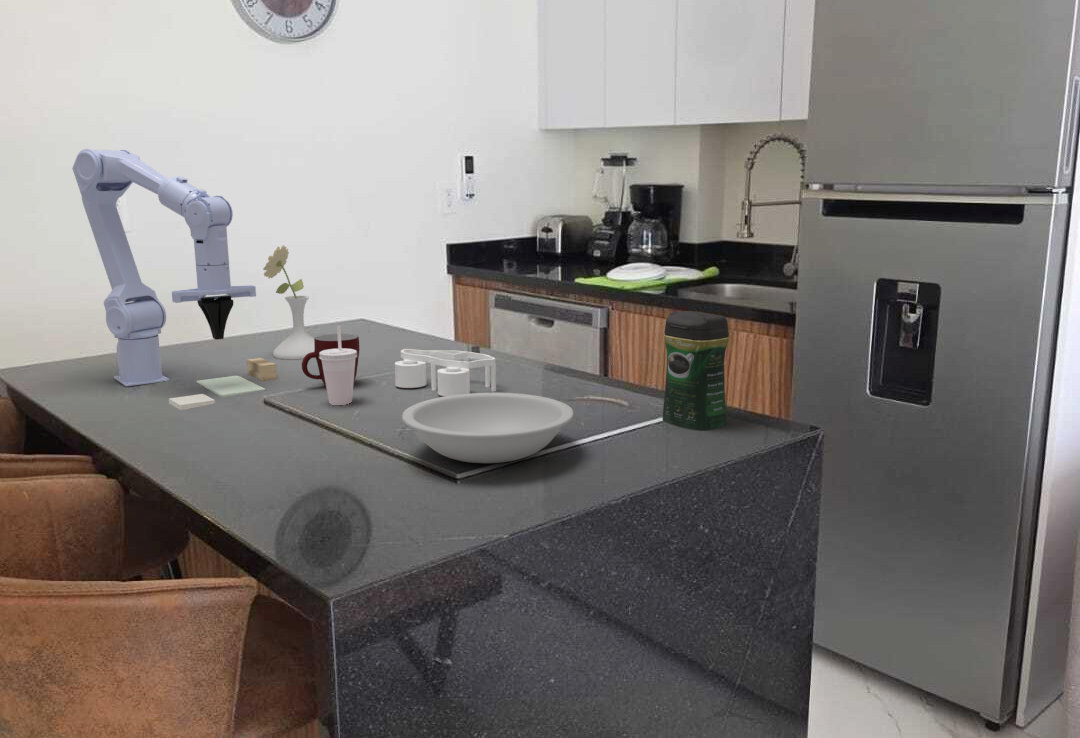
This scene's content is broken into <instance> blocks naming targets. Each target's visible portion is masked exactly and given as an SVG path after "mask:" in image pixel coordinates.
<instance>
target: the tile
mask: <svg viewBox="0 0 1080 738" xmlns="http://www.w3.org/2000/svg"><path fill="white" fill-rule="evenodd" d="M168 404H169V405H171V406H172V407H174V408H175V409H177V410H179V411H184V410H190V409H195V408H199V407H204V406H205V407H206V406H211V405H215V404H216V400H215V399H214V398H211V397H210V396H208V395H206V394H205V393H198V394H192V395H185V396H178V397H171V398H169V397H168Z"/></svg>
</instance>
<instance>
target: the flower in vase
mask: <svg viewBox="0 0 1080 738" xmlns="http://www.w3.org/2000/svg"><path fill="white" fill-rule="evenodd" d="M289 253H290V251H289V248H287V247H286V246H285V245H284V244H283V245H281V247H280V246H277V247H276V249H274V251H273V254H272V255H269V256H268V258H267V260H268V261H267V262H266V263H265V266H264V267H263V271H264V273H263V276H264V277H266V278H268V279H269V280H270V279H273V278H274V277H276V276H277V275H278V274H279V273H281V271H282V270H283V272H284V274H285V277H286V280H287V282H283V283H282V284H280V285H279V286H278V287H277V289H276V291H275V293H276V294H281V295H282V294H285V293H286V292H287V290H289V288H290V289H291V291H292V293H293V295H290V296H286V297H285V296H284V299H285V300H286V302H287V303H288V305H289V307H290V310H291V315H292V316H291V317H292V331H291V333H290V334H289V335H288V336H287V337H286V338H285V339H283V340H282V342H280V343H279V344H278V345H277V346H276V348H274V350H273V352H272V355H273V358H276V359H279V360H290V361H292V360H296V361H297V360H303V359H304V357H305V356H306V355H307V354H308V353H311V352H314V338H315V337H313V336H311V335H310V334H309V333H308V332H307V330H306V328H305V319H304V316H305V315H304V314H305V306H306V304H307V302H308V300H309V298H310V296H307V295H296V293H297V292H299V291H301V290H304V282H303V279H302V278H300V279H298V280H296V282H294V283H292V284H291V281H290V277H289V275H288V273H287V271H286V269H285V266H286V264H287V262H288V261H287V260H288V259H289V258H288V257H289Z"/></svg>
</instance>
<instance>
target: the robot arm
mask: <svg viewBox="0 0 1080 738" xmlns="http://www.w3.org/2000/svg"><path fill="white" fill-rule="evenodd" d="M72 172H73V174H74V177H75V180H76V183H77V186H78V189H79V192H80V194H81V201H82V205H83V208H84V210H85V215H86V216H87V220H88V223H89V225H90V228H91V231H92V234H93V237H94V241H95V243H96V246H97V250H98V252H99V255H100V258H101V261H102V263H103V266H104V270H105V273H106V275H107V279H108V282H109V284H110V288H111V291H110V292H109V294H108V295H107V297H106V298H105V299H104V301H103V305H104V308H105V322H106V326H107V328H108V331H110V332H111V334H112V335H113V336H114V339H117V344H116V356H117V366H118V375H114V376H113V378H114V380H116V381H117V382H119V383H120V384H121V385H123V386H124V387H132V386H141V385H148V384H149V385H150V384H156V383H164V382H163V381H165V382H169V380H170V379H169V378H168V377H166V376H165V375H163V373H162V359H161V349H160V339H159V338H160V337H159V334H162V329H163V328H164V326H165V324H166V321H167V312H166V309H165V307H164V305H163V304H162V302H161V301H160V300H159V298H158V296H157V293H156V291H155V290H154V289H153V288H151V287H150V286H148V285H146V284H145V283H143V281H142V279H141V276H140V273H139V270H138V267H137V264H136V261H135V258H134V255H133V253H132V250H131V246H130V244H129V243H130V242H129V240H128V238H127V234H126V232H125V228H124V225H123V223H122V219H121V216H120V214H119V211H118V208H117V202H118V200H119V199H120V198H121V197H123V196H124V194H125V193H126V192H127V190H128V189H129V188H130V186H132V184H133V183H134V184H136V185H138V186H140V187H142V188H144V189H146V190H148V191H150V192H152V193H154V194H156V195H157V197H158V200H159V203H160V204H161V205H163V207H166V208H167V209H169V210H171V211H172V212H174V213H175V214H177V215H179V216H181V217H182V218H184V221H185V223H186V225H187V226H188V228H189V231H190V236H191V238H192V239H193V246H194V257H195V258H194V259H195V260H194V261H195V270H196V271H195V273H196V284H197V285H196V286H197V288H190V289H189V288H188V289H180V290H172V291H171V298H172V303H175V304H179V303H184V302H185V303H187V302H196V301H197V302H196V303H197V304H198V306H199V308H200V309H201V311H202V313H203V316H204V317H205V319H206V322H207V323H208V326H209V329H210V332H211V335H212V339H214V340H224V336H225V331H226V330H225V329H226V325H227V321H228V318H229V315H230V313H231V311H232V308H233V307H234V299H235V298H246V297H249V298H252V297H253V298H254V297H255V298H256V297H257V291H256V290H257V289H256V286H255V285H250V284H249V285H232V284H231V273H230V272H231V271H230V259H229V258H230V257H229V255H230V254H229V245H228V231H227V228H228V226H229V225H230V224H231V223H232V220H233V216H234V215H233V209H232V206H231V203H230V202H229V201H228V200H227V199H226V198H225V197H223V196H222V195H213V196H211V195H209V194H208V192H207V191H206V190H204V189H203V188H197V187H196V186H194V185H192V184H190V183H189V182H188V178H186V177H185V176H173V177H169V178H168V177H166V176H165V175H163V174H162V173H160V172H159V171H157V170H156V169H154V168H152V166H150V165H148V164H147V163H145V162H144V161H142V160H141V158H140V156H139V155H138V154H135V153H133V152H131V151H130V150H126V149H120V150H112V149H111V150H105V149H100V150H99V149H89V148H83V149H82V150H80V151H79V152H78V154H77V155H76V158H75V160H74V164H73V165H72ZM231 285H232V286H231ZM233 298H234V299H233Z"/></svg>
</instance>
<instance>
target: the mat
mask: <svg viewBox="0 0 1080 738" xmlns="http://www.w3.org/2000/svg"><path fill="white" fill-rule="evenodd" d="M196 382H197V383H196ZM195 383H196V384H198V383H199V384H198V385H200V386H201V385H202V386H201V387H203V386H204V388H205V389H207V390H208V391H210V392H212V393H213V394H216V396H219V397H220V398H229V397H233V396H238V395H240V396H241V395H244V394H249V393H250V394H251V393H255V392H262V391H266V388H265V387H262V386H260V385H258V384H256V383H254V382H252V381H250V380H247V379H246V378H244V377H242V376H239V375H238V374H237V375H229V376H223V377H222V376H221V377H215V378H208V379H200V380H199V379H197V380H196V381H195Z"/></svg>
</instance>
